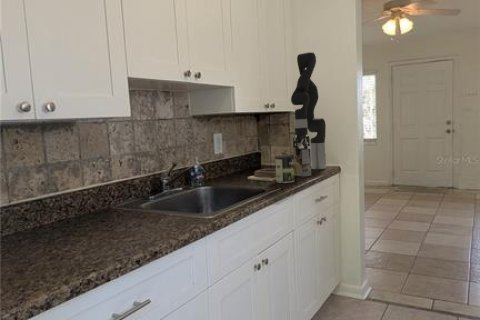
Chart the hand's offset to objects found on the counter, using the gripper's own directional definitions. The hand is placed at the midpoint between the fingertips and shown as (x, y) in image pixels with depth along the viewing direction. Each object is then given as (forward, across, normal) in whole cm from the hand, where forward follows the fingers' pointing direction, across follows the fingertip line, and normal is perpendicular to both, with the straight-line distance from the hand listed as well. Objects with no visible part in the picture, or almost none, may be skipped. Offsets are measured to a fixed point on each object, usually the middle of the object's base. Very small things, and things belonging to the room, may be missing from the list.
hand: (301, 154), depth 228 cm
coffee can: (+13, +21, +3) cm, 25 cm away
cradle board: (+13, +14, -14) cm, 23 cm away
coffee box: (+13, 0, 0) cm, 13 cm away
